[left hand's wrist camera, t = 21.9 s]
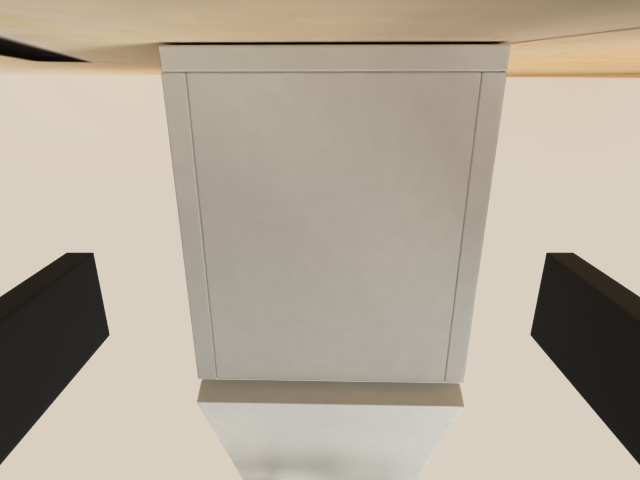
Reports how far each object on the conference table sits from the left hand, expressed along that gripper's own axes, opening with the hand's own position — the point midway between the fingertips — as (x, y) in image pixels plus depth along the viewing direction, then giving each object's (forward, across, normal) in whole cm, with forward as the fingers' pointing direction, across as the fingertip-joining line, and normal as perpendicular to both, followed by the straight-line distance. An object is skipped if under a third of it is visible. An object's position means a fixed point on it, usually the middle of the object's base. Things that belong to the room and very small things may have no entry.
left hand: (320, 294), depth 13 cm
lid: (+6, 0, +12) cm, 13 cm away
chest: (+9, 0, -7) cm, 11 cm away
